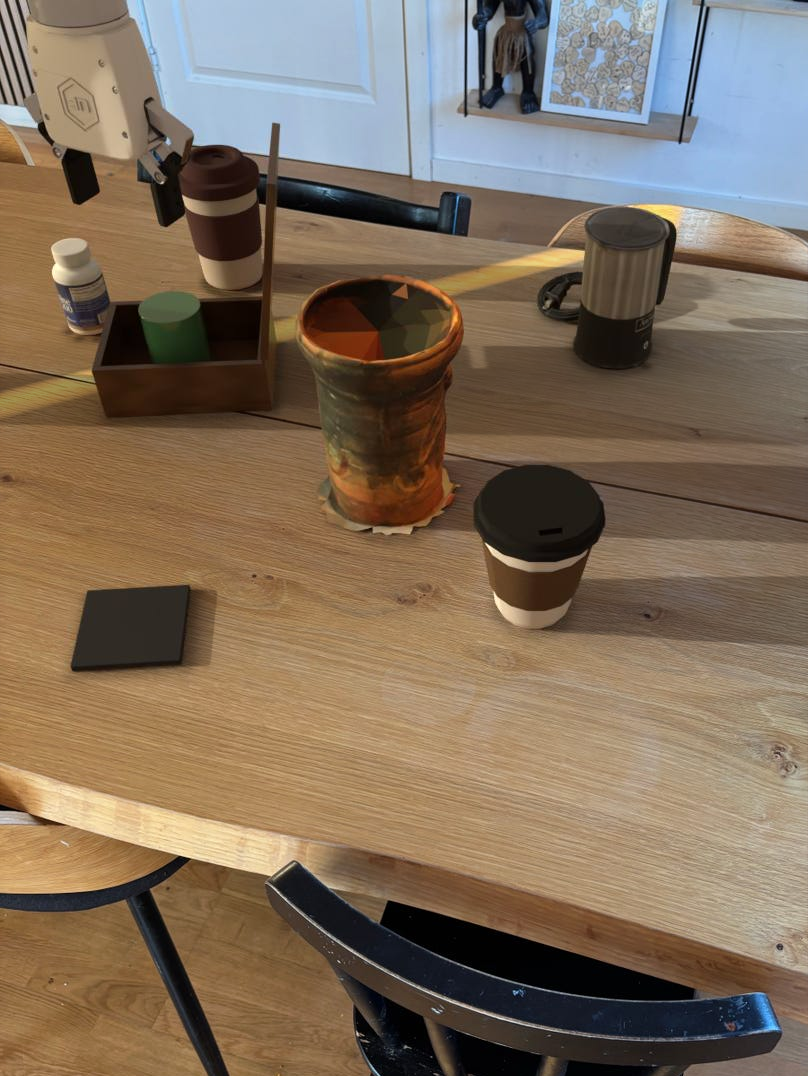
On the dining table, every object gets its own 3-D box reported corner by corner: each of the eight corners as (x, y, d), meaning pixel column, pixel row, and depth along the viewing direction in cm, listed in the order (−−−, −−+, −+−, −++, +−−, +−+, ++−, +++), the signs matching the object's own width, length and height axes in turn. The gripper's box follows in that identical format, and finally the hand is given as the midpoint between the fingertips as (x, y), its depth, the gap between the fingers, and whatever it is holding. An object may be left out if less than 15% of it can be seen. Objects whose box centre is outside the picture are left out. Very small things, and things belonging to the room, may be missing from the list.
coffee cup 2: (608, 640, 88) (624, 538, 79) (485, 658, 87) (488, 556, 78) (574, 554, 95) (586, 452, 86) (460, 570, 94) (460, 468, 85)
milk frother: (638, 378, 115) (657, 254, 104) (508, 348, 118) (513, 224, 107) (670, 316, 124) (691, 196, 113) (548, 290, 127) (557, 170, 116)
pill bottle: (66, 317, 121) (41, 239, 114) (111, 308, 123) (89, 231, 116) (72, 340, 118) (47, 261, 111) (119, 331, 120) (97, 252, 112)
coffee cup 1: (221, 306, 124) (197, 182, 112) (179, 274, 129) (153, 153, 117) (289, 279, 128) (273, 158, 117) (246, 249, 133) (227, 131, 122)
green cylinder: (152, 389, 111) (134, 323, 105) (158, 356, 115) (142, 291, 109) (211, 387, 111) (197, 321, 105) (215, 354, 115) (202, 289, 109)
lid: (266, 183, 92) (275, 184, 92) (272, 122, 101) (280, 123, 101) (260, 359, 105) (267, 360, 105) (265, 291, 114) (272, 292, 114)
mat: (72, 671, 85) (69, 666, 85) (88, 594, 91) (87, 590, 90) (181, 664, 86) (179, 659, 85) (190, 588, 92) (189, 584, 91)
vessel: (436, 558, 95) (431, 374, 80) (294, 526, 97) (264, 343, 82) (480, 465, 104) (484, 285, 89) (350, 439, 107) (333, 259, 92)
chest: (105, 417, 108) (91, 370, 104) (122, 347, 117) (110, 301, 113) (272, 410, 110) (264, 363, 105) (276, 341, 119) (269, 295, 114)
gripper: (-41, -4, 81) (27, 207, 94) (136, 31, 76) (182, 247, 89) (24, -29, 86) (81, 175, 98) (195, 2, 81) (231, 212, 94)
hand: (129, 209), depth 94 cm, fingers open, 9 cm apart
